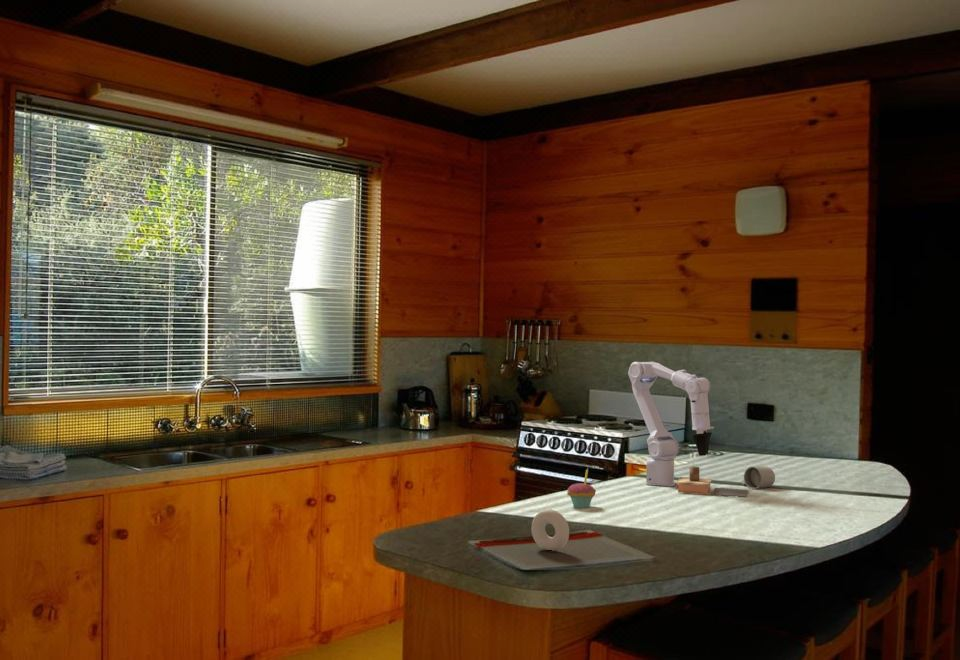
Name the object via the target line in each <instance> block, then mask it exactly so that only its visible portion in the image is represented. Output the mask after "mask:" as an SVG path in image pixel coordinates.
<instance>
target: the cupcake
mask: <svg viewBox="0 0 960 660" xmlns="http://www.w3.org/2000/svg"><path fill="white" fill-rule="evenodd" d="M588 473H589V467H587V469H586V470H585V474H584V475H585V476H584V480H583V482H579V483H578V482H577V483H572V484H571V485H570V486H568V487H567V490H566V491H567V493H566V494H567V495H568V496H569V497H570V499H571V502H572V506H573V507H574V508H577V509H588V508H589V507H591V506H590V505H591V503H592V500H593V498H594V497H595V496H596V491H597V490H596V489H595V487H593V486H592V485H590V484H588V483H587V481H588V480H587V479H588Z"/></svg>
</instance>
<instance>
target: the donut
mask: <svg viewBox="0 0 960 660" xmlns="http://www.w3.org/2000/svg"><path fill="white" fill-rule="evenodd" d="M548 524H549V525H552V526H553V528H554V531H555V533H554V535H553V536H550V535H549V534H547V532H546V526H547V525H548ZM530 528H531V535H532V537H533V540H534V541H535V543H536V544H537V546H538V547H540V548H541V549H543V550H544V549H546V550H545V551H547V550H552V551H551V552H556V551H559V550H561V549H562V548H563V547H565V546H566V544H567V542H568V541H569V537H570V527H569V524H568V522H567V519H566V518H565V517H564V516H563V514H561V512H559V511H558V510H555V509H551V508H550V509H543V510H541V511H539V512H537V514H535V516H534V517H533V520H532V521H531V527H530Z"/></svg>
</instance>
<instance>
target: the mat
mask: <svg viewBox="0 0 960 660" xmlns="http://www.w3.org/2000/svg"><path fill="white" fill-rule="evenodd" d="M747 494H749V489H740V488H738V489H737V488H723V487H714V489H713V490H712V492H711V496H713V495H721V496H720V497H728V496H738V497H737V498H742V497H747V498H748V495H747Z"/></svg>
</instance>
